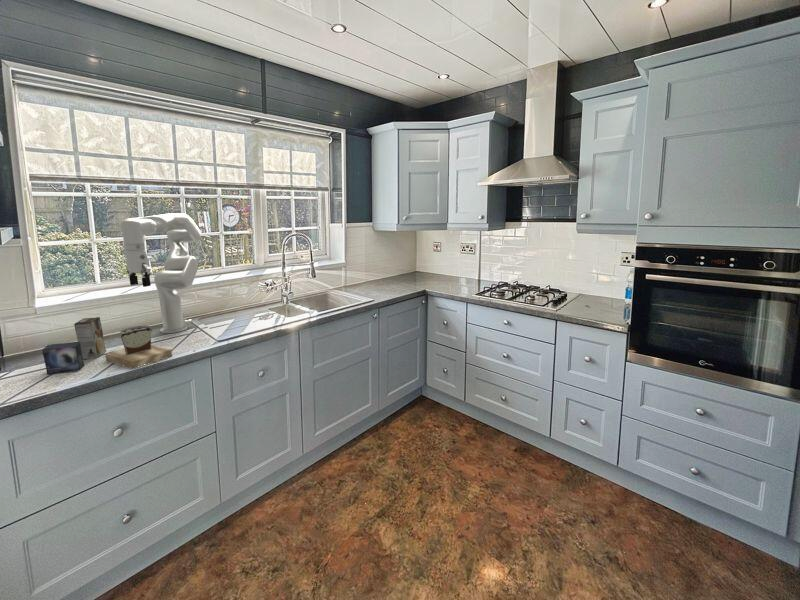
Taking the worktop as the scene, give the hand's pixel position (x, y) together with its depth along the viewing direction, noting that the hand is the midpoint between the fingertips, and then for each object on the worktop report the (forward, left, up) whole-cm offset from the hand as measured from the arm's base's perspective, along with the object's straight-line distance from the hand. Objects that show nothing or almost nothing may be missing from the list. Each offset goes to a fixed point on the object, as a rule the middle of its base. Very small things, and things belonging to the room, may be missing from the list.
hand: (140, 285), depth 183 cm
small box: (+34, +2, -29) cm, 44 cm away
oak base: (+13, +15, -28) cm, 35 cm away
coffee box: (+20, -7, -28) cm, 36 cm away
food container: (+13, +13, -26) cm, 31 cm away
